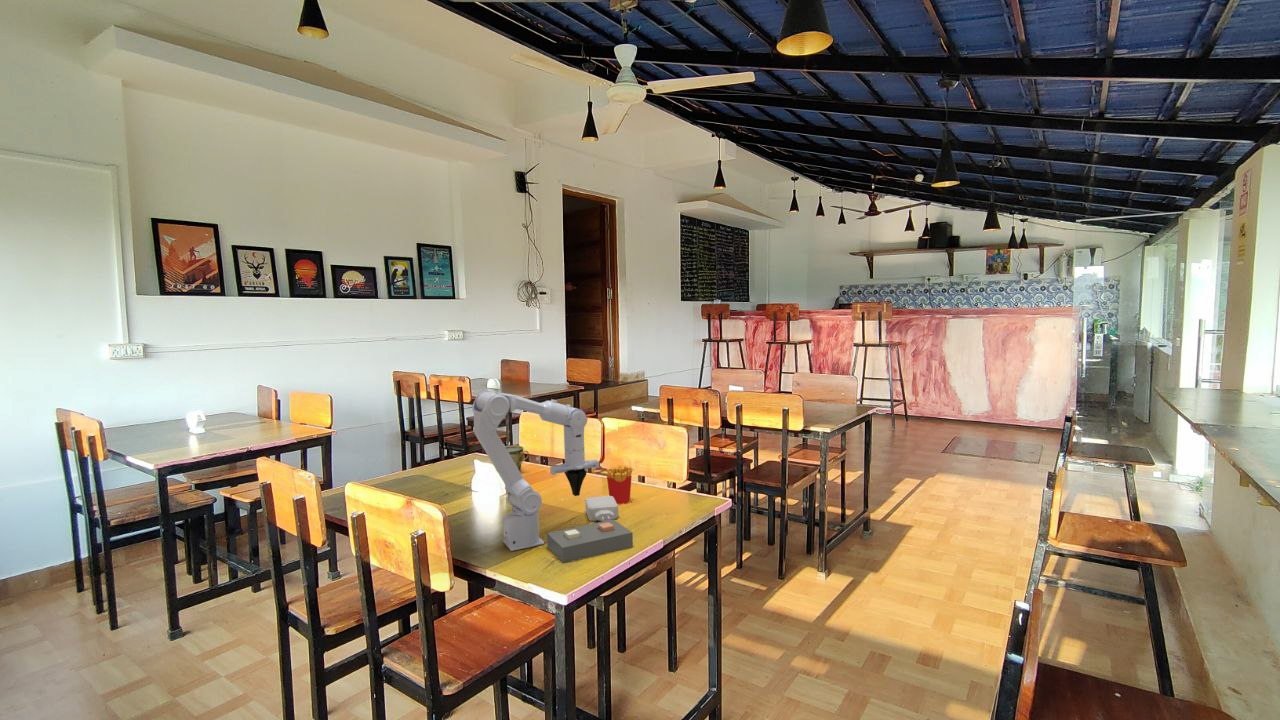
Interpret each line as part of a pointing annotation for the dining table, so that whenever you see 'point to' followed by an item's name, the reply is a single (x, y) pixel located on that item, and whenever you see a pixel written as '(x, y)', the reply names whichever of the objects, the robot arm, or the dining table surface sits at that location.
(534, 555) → the dining table surface
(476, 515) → the dining table surface
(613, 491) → the french fries
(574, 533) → the offwhite key
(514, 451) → the ceramic cup
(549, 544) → the key box
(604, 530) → the terracotta key
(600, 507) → the charger
